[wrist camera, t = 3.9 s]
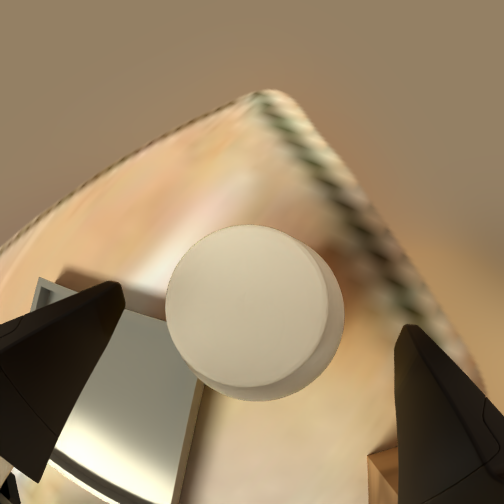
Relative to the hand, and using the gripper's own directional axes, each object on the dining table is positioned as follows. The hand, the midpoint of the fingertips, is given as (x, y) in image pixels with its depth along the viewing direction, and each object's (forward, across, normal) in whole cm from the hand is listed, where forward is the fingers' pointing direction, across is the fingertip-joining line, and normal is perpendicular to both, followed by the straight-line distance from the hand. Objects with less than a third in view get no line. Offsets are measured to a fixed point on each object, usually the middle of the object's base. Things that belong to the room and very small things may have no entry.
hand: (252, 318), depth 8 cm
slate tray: (+1, +10, +11) cm, 15 cm away
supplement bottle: (+6, 0, +6) cm, 9 cm away
